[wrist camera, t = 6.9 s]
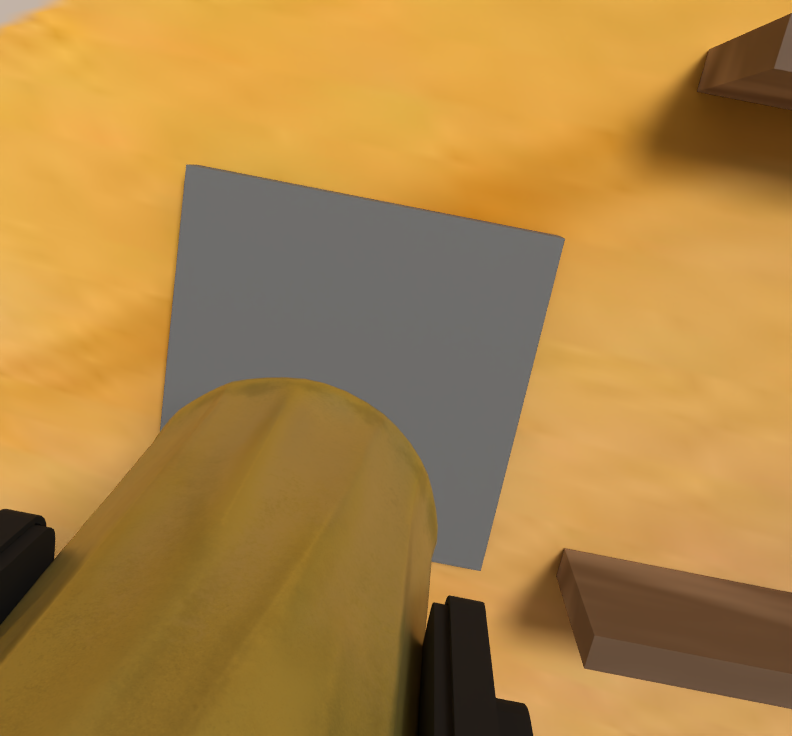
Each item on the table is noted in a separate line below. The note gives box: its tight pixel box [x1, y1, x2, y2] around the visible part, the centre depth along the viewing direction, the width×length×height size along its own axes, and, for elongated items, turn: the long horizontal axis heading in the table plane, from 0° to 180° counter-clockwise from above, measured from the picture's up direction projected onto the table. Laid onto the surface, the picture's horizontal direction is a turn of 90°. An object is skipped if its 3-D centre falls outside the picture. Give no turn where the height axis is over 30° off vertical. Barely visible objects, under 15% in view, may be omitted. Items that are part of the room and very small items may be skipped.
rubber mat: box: [160, 165, 565, 571], centre depth 24 cm, size 12×12×1 cm
